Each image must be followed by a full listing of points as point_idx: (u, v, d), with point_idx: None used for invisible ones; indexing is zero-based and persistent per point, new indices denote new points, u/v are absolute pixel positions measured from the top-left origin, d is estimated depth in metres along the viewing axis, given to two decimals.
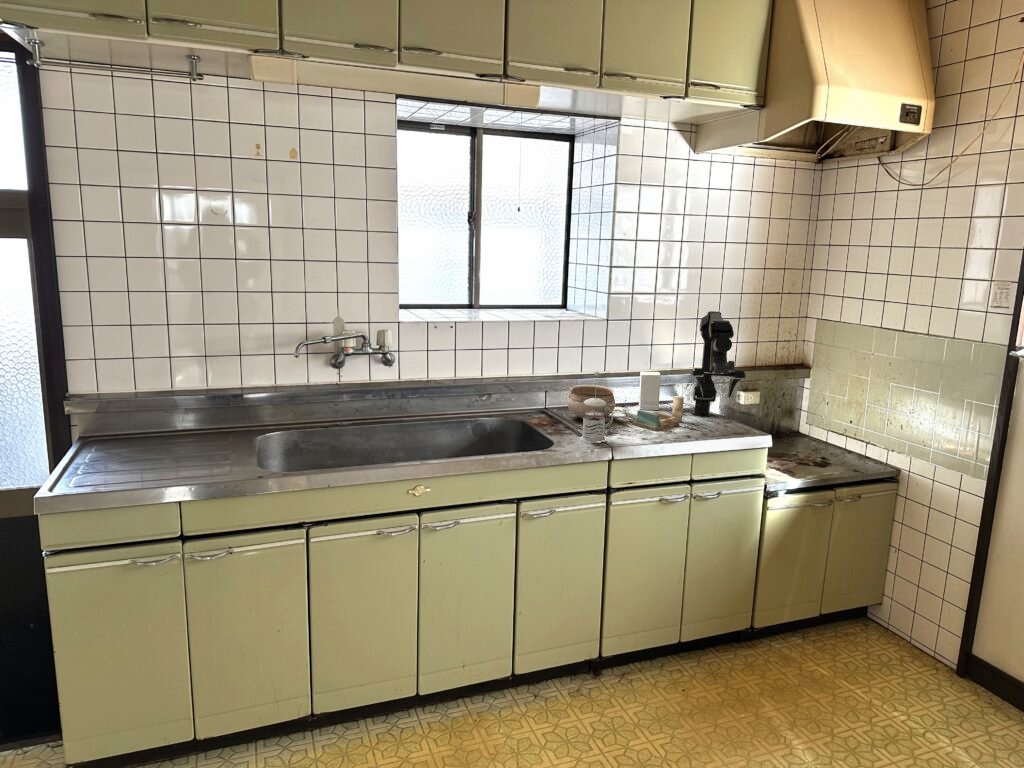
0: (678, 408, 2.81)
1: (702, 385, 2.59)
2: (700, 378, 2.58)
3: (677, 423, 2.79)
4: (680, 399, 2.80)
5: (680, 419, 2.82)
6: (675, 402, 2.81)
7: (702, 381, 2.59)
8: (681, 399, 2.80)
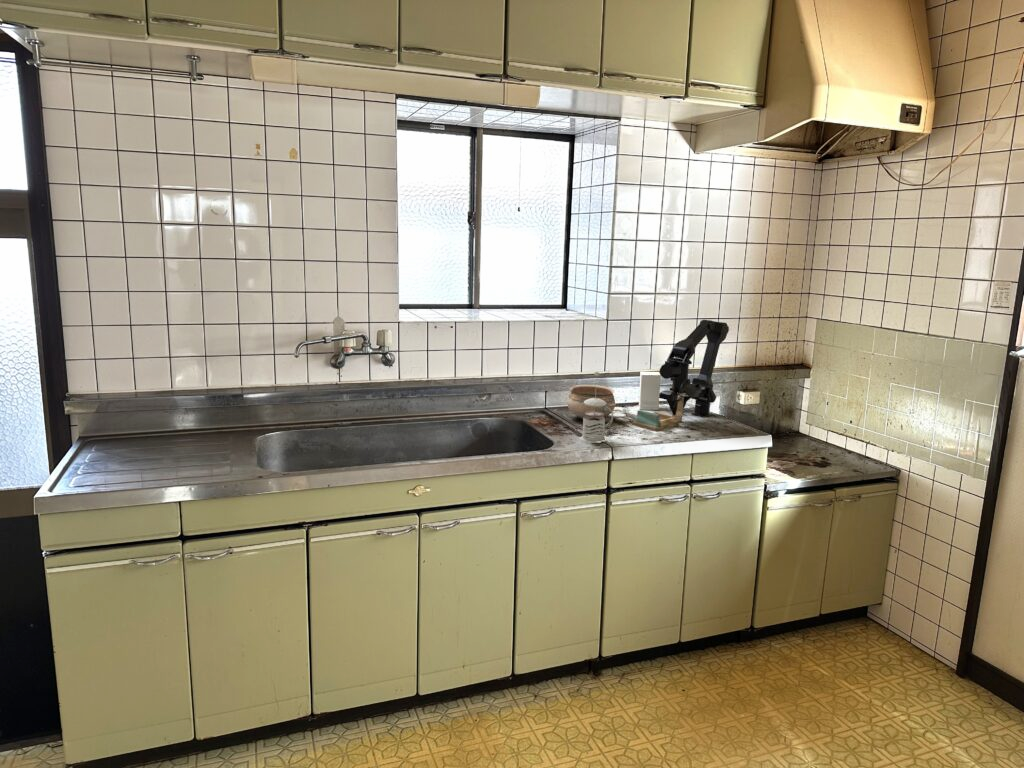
0: (678, 408, 2.81)
1: (676, 406, 2.80)
2: (678, 401, 2.78)
3: (677, 423, 2.79)
4: None
5: (680, 419, 2.82)
6: None
7: (677, 403, 2.79)
8: (681, 399, 2.80)
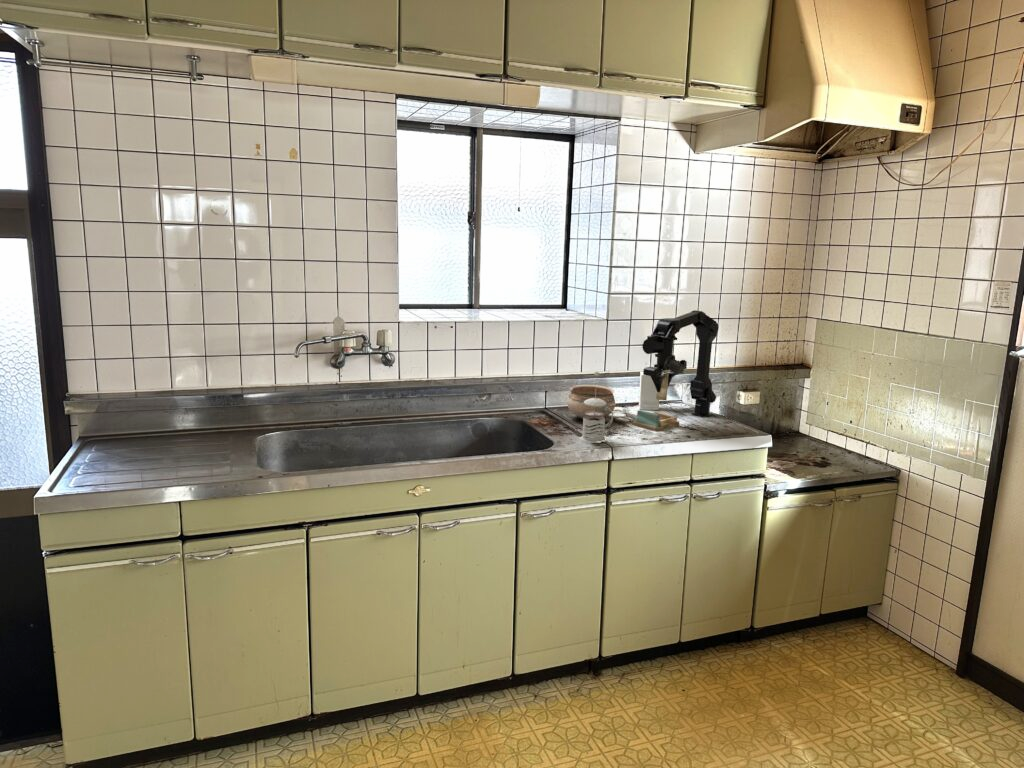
0: (663, 384, 2.74)
1: (660, 383, 2.73)
2: (662, 377, 2.71)
3: (677, 423, 2.79)
4: (665, 376, 2.74)
5: (665, 396, 2.76)
6: None
7: (661, 379, 2.73)
8: (666, 376, 2.74)
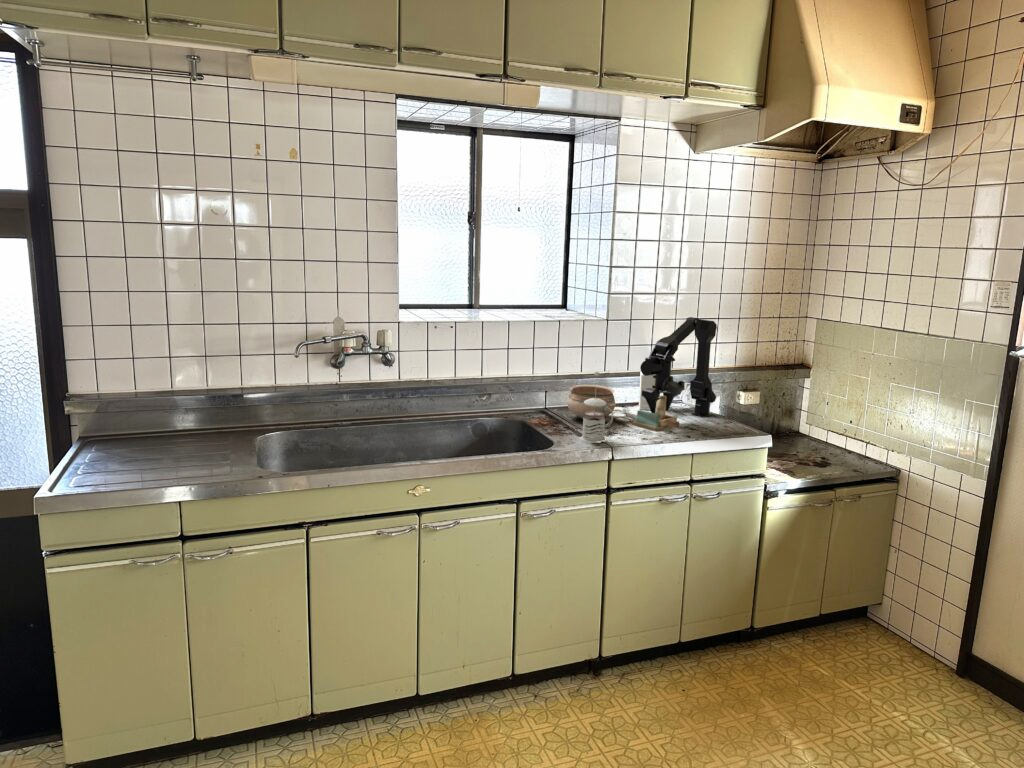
0: (661, 407, 2.76)
1: (655, 405, 2.73)
2: (656, 399, 2.71)
3: (677, 423, 2.79)
4: (663, 398, 2.76)
5: (663, 418, 2.78)
6: (658, 401, 2.76)
7: (656, 401, 2.73)
8: (664, 398, 2.76)
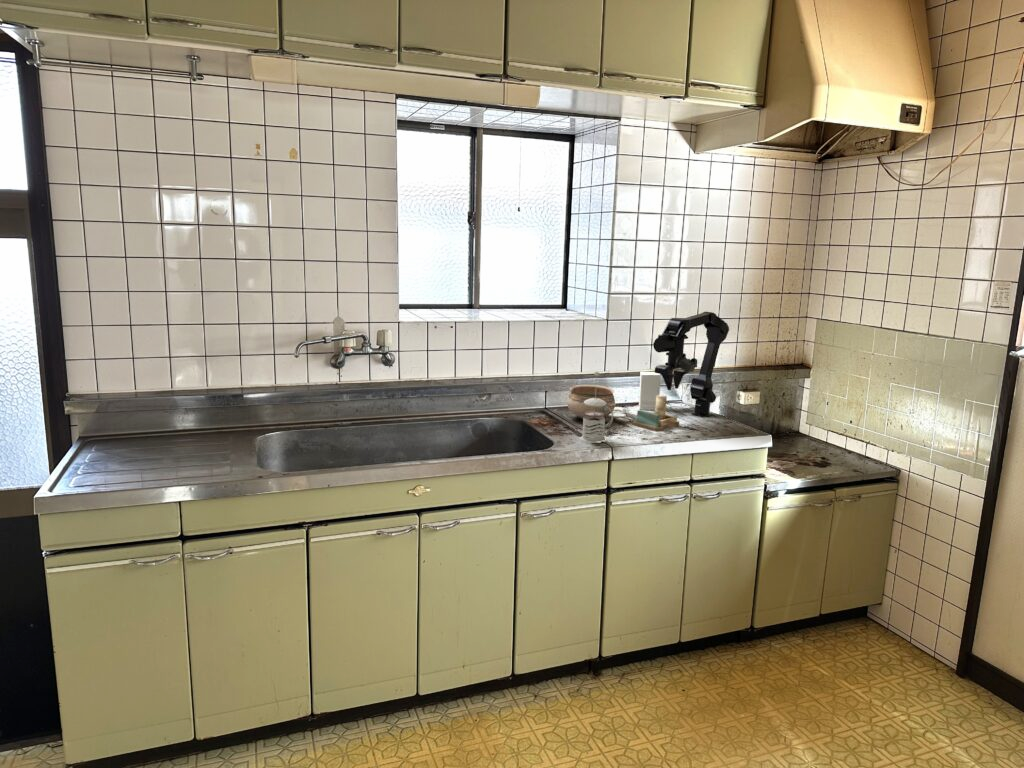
0: (661, 407, 2.76)
1: (671, 381, 2.78)
2: (673, 376, 2.76)
3: (677, 423, 2.79)
4: (663, 398, 2.75)
5: (663, 418, 2.78)
6: (658, 401, 2.76)
7: (672, 377, 2.77)
8: (664, 398, 2.76)
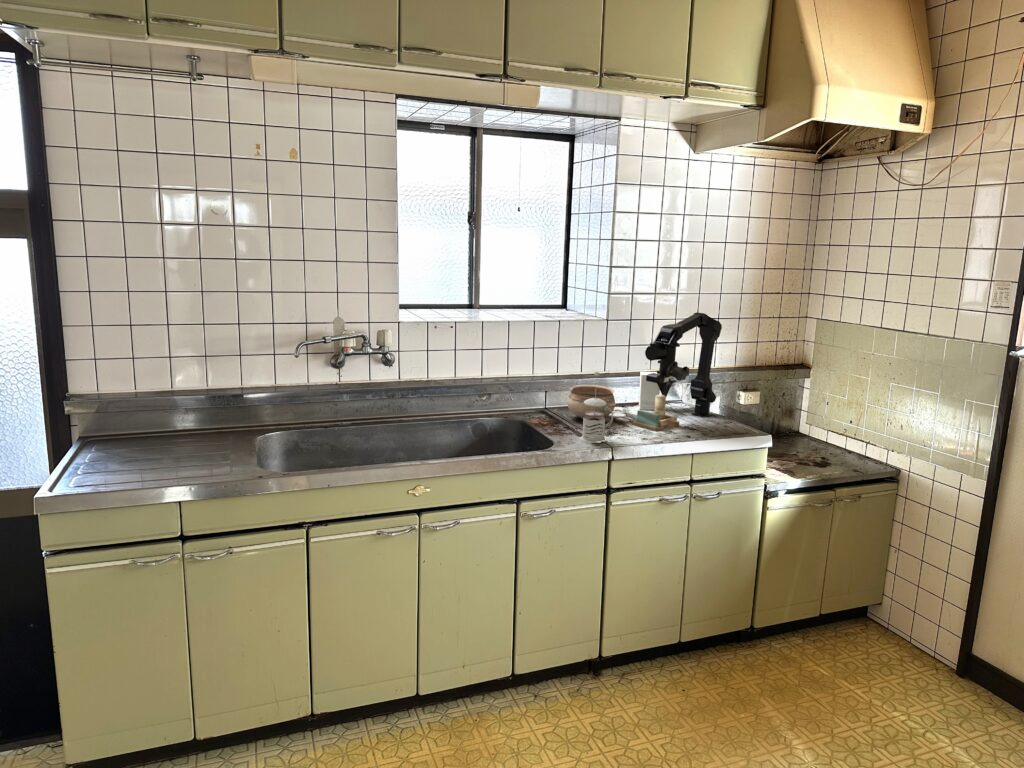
0: (661, 407, 2.76)
1: (666, 388, 2.77)
2: (668, 383, 2.75)
3: (677, 423, 2.79)
4: (662, 398, 2.75)
5: (663, 418, 2.77)
6: (657, 401, 2.76)
7: (667, 385, 2.76)
8: (663, 398, 2.75)
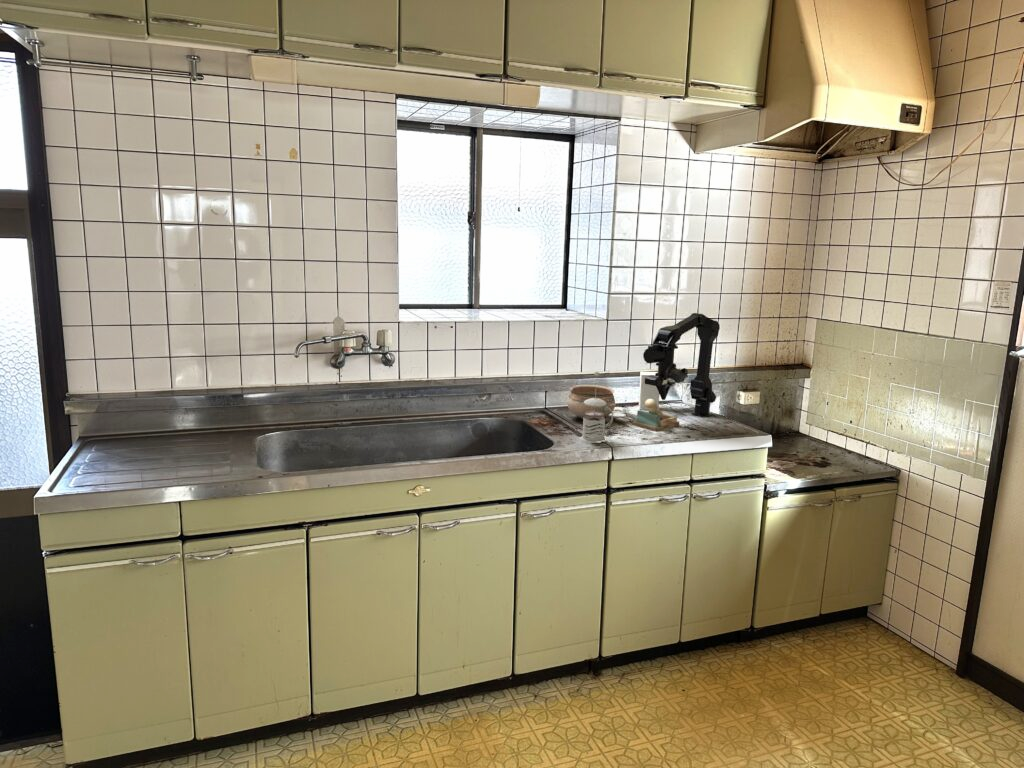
0: (654, 412, 2.74)
1: (665, 391, 2.76)
2: (666, 385, 2.74)
3: (677, 423, 2.79)
4: (651, 406, 2.71)
5: (661, 417, 2.77)
6: (648, 409, 2.73)
7: (666, 387, 2.76)
8: (652, 406, 2.71)
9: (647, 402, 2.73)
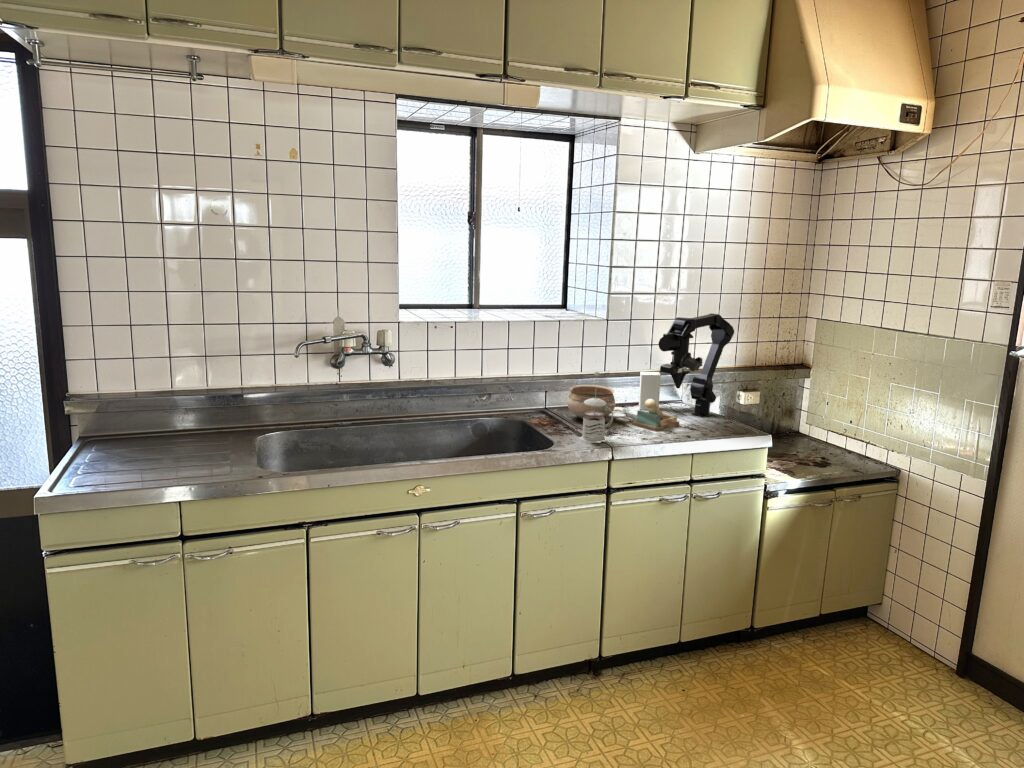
0: (654, 412, 2.74)
1: (679, 379, 2.82)
2: (681, 374, 2.80)
3: (677, 423, 2.79)
4: (651, 406, 2.71)
5: (661, 417, 2.77)
6: (648, 409, 2.73)
7: (680, 376, 2.81)
8: (652, 406, 2.71)
9: (647, 402, 2.73)
